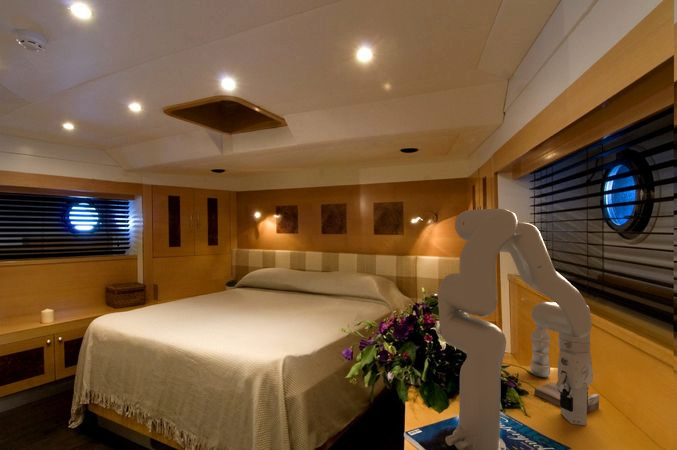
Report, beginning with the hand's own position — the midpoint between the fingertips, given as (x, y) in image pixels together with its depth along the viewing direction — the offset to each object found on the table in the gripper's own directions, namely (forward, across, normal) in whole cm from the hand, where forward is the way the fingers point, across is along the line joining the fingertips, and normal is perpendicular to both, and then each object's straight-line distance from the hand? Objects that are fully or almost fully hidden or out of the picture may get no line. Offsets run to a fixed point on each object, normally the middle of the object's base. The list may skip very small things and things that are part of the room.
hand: (574, 405), depth 98 cm
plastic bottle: (+5, +20, +22) cm, 30 cm away
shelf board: (+4, +9, +7) cm, 12 cm away
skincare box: (+4, 0, 0) cm, 4 cm away
